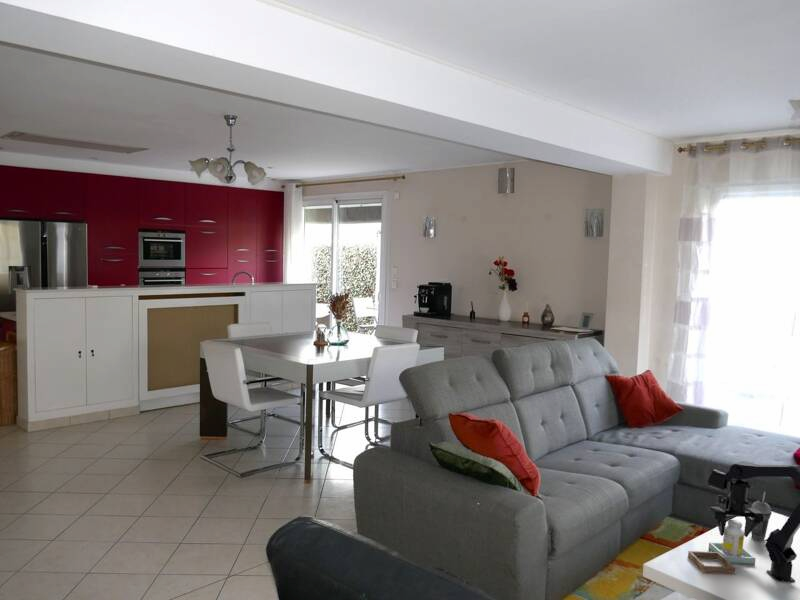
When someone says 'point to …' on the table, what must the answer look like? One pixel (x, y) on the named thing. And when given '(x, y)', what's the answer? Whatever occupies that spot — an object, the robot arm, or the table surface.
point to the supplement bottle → (733, 539)
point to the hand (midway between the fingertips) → (733, 535)
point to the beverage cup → (761, 528)
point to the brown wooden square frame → (728, 568)
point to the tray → (745, 558)
